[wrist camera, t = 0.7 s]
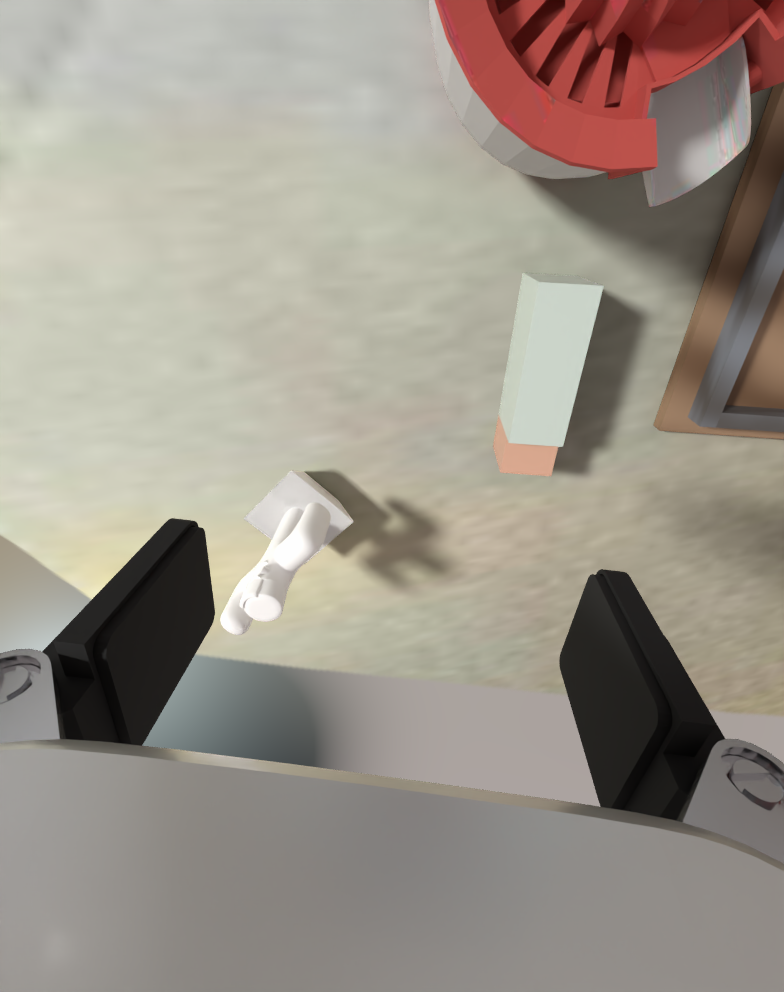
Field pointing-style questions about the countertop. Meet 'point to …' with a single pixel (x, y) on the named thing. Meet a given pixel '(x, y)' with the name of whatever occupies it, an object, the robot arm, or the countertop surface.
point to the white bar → (544, 369)
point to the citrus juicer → (609, 83)
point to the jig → (739, 309)
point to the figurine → (284, 546)
